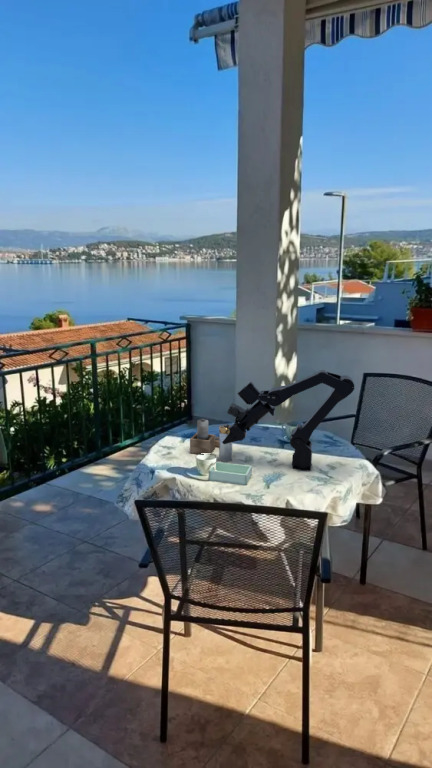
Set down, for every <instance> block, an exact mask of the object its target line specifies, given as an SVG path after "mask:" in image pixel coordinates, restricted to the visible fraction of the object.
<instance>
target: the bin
mask: <svg viewBox="0 0 432 768" xmlns="http://www.w3.org/2000/svg"><path fill="white" fill-rule="evenodd" d="M196 421H197V422H196V426H197V427H196V428H197V429H196V430H197V431H196V433H195V434H193V436H191V438H189V454H190V455H198V454H201V453H211V454H213V452H214V451H215V450H216V447H215V437H216V434H211V433H210V434H209V420H208V419H205V418H200V419H198V420H196Z"/></svg>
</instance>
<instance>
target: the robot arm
mask: <svg viewBox="0 0 432 768" xmlns="http://www.w3.org/2000/svg"><path fill="white" fill-rule="evenodd" d="M321 384H324V385H326V386H328V387H330V388H331V391H330V393H329V395H328V396H327V397H326V398H325V399H324V401H323V402H322V403H321V404H320V405H319V407H317V409H316V410H314V412H313V413H312V414H311V416H310V417H309V418H308V420H307V421H306V422H304V423H303V424H300V422H298V423H297V425H296V426H295V428H293V429H292V430H291V433H290V441H289V444H290V446H291V448H292V449H294V452H293V453H292V459H291V461H292V462H291V465H292V469H293V470H298V469H305V470H304V471H307V470H312V467H311V466H312V465H313V463H312V462H313V450H312V445H313V443H312V441H311V440H310V439H311V437H312V434H313V433H314V432H315V430H316V429H317V427H318V426H319V425H320V424H321V423H322V422H323V420H324V419H325V418H326V417H327V416H328V415H329V414H330V413H331V411H332V410H334V408H335V407H336V406H337V404H338V403H340V402H341V401H343V400H345V399H346V398H347V397H349V396H350V395H351V394H352V393H353V392H354V390H355V383H354V380H353V378H352V377H351V376H349V375H339V374H337V373H333V372H329V371H326V370H324V369H322V370H318V371H317V372H315V373H314V374H311V375H308V376H306V377H303V378H302V379H299V380H297V381H295V382H293V383H290V384H286V385H279V386H275V387H272V388H270V389H269V390H259V389H258V388H257V387H256V386H255V384H254V383H253V382H252V381H249V383H247V384H246V385H244V386H243V387H241V388H240V389H239V391H237V393H236V394H237V396H239V398H240V399H241V400H243V402H244V403H245V404H246V405H251V407H249V408H248V407H247V408H246V409H245V408H243V407H242V406H239V405H238V404H236V403H234V402H232V403H231V404H230V405H229V408H228V410H227V412H226V413H227V415H231V416H233V417H234V418H235V419H234V423H232V424H231V427H230V429H229V430H230V433H229V434H228V436H227V437H226V438H225V439H224V441H223V442H222V443H223V444H228V443H231V442H232V443H235V442H238V441H239V442H242V441H243V440H244V439H246V437H247V432H250V430H251V428H252V427H254V426H255V425H257V424H258V423H259V421H261V420H262V419H263V418H265V416H267V415H268V414H270V415H271V416H273V417H274V416H275V413H276V412H275V411H276V407H278V406H280V405H282V404H283V403H284V402H287V400H289V399H290V398H291V397H293V396H295V395H298V394H300V393H302V392H304V391H306V390H307V391H308V390H309V389H311V388H314V387H316V386H318V385H321Z"/></svg>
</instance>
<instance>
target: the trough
mask: <svg viewBox="0 0 432 768" xmlns="http://www.w3.org/2000/svg"><path fill="white" fill-rule="evenodd" d="M215 462H216V470H217V471H214V467H212V466H211V467H210V469H208V481H210V482H211V481H212V482H218V483H227V484H228V483H229V484H234V485H241V486H242V485H243V486H247V485H248V482H249V481H250V479H251V477H252V475H253V473H252V472H253V471H252V470H253V466H252V465H246V464H238V463H230V462H221V461H215Z"/></svg>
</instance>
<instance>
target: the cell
mask: <svg viewBox="0 0 432 768" xmlns="http://www.w3.org/2000/svg"><path fill="white" fill-rule="evenodd" d="M231 426H232V424H228V423H224V424H221V425H219V427H218V428H219V430H218V431H219V433H218V434H219V436H218V437H219V448H218V462H222V463H230V462H232V461H233V442H231V443H228V444H223V443H222V442H223V441H224V439H225V438H226V437H227V436H228V434H229V433H230V430H229V429H230V427H231Z"/></svg>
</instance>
